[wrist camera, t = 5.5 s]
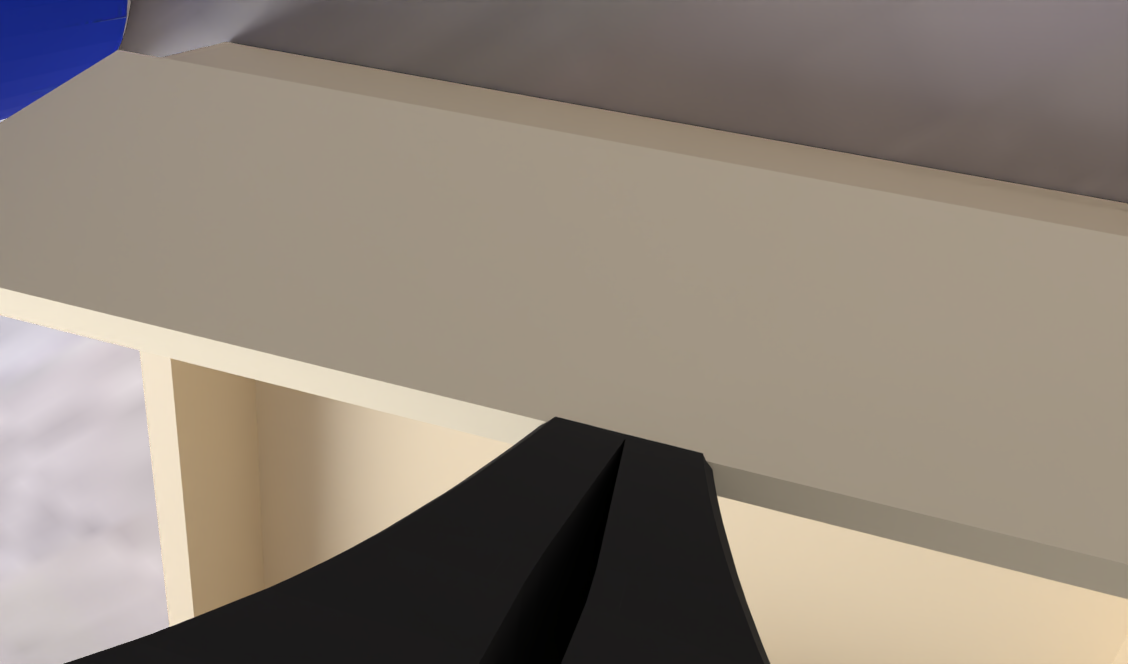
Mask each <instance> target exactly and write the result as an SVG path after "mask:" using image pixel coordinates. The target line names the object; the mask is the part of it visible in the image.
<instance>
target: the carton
mask: <svg viewBox="0 0 1128 664" xmlns="http://www.w3.org/2000/svg"><path fill="white" fill-rule="evenodd" d="M161 58H166V59H171V60H177V61H182V62H188V63H193V64H198V65H204V66H209V67H215V68H220V69H225V70H231V71H236V72H242V73H247V74H252V75H258V76H263V77H269V78H274V79H279V80H285V81H290V82H296V83H301V84H306V85H312V86H317V87H323V88H328V89H333V90H339V91H344V92H350V93H355V94H360V95H366V96H371V97H377V98H382V99H387V100H393V101H398V102H404V103H409V104H414V105H420V106H425V107H430V108H436V109H441V110H447V111H452V112H457V113H463V114H468V115H474V116H479V117H484V118H490V119H495V120H501V121H506V122H511V123H517V124H522V125H528V126H533V127H538V128H544V129H549V130H555V131H560V132H565V133H571V134H576V135H582V136H587V137H592V138H598V139H603V140H609V141H614V142H619V143H625V144H630V145H636V146H641V147H646V148H652V149H657V150H663V151H668V152H673V153H679V154H684V155H690V156H695V157H700V158H706V159H711V160H717V161H722V162H727V163H733V164H738V165H743V166H749V167H754V168H760V169H765V170H770V171H776V172H781V173H787V174H792V175H797V176H803V177H808V178H814V179H819V180H824V181H830V182H835V183H841V184H846V185H851V186H857V187H862V188H868V189H873V190H878V191H884V192H889V193H895V194H900V195H905V196H911V197H916V198H922V199H927V200H932V201H938V202H943V203H949V204H954V205H959V206H965V207H970V208H976V209H981V210H986V211H992V212H997V213H1003V214H1008V215H1013V216H1019V217H1024V218H1030V219H1035V220H1040V221H1046V222H1051V223H1056V224H1062V225H1067V226H1073V227H1078V228H1083V229H1089V230H1094V231H1100V232H1105V233H1110V234H1116V235H1121V236H1127V237H1128V203H1122V202H1117V201H1111V200H1106V199H1100V198H1095V197H1089V196H1083V195H1078V194H1072V193H1067V192H1061V191H1055V190H1050V189H1044V188H1039V187H1033V186H1028V185H1022V184H1016V183H1011V182H1005V181H1000V180H994V179H988V178H983V177H977V176H972V175H966V174H961V173H955V172H949V171H944V170H938V169H933V168H927V167H922V166H916V165H910V164H905V163H899V162H894V161H888V160H882V159H877V158H871V157H866V156H860V155H855V154H849V153H843V152H838V151H832V150H827V149H821V148H816V147H810V146H804V145H799V144H793V143H788V142H782V141H776V140H771V139H765V138H760V137H754V136H749V135H743V134H737V133H732V132H726V131H721V130H715V129H709V128H704V127H698V126H693V125H687V124H682V123H676V122H670V121H665V120H659V119H654V118H648V117H643V116H637V115H631V114H626V113H620V112H615V111H609V110H603V109H598V108H592V107H587V106H581V105H576V104H570V103H564V102H559V101H553V100H548V99H542V98H537V97H531V96H525V95H520V94H514V93H509V92H503V91H497V90H492V89H486V88H481V87H475V86H470V85H464V84H458V83H453V82H447V81H442V80H436V79H430V78H425V77H419V76H414V75H408V74H403V73H397V72H391V71H386V70H380V69H375V68H369V67H364V66H358V65H352V64H347V63H341V62H336V61H330V60H324V59H319V58H313V57H308V56H302V55H297V54H291V53H285V52H280V51H274V50H269V49H263V48H258V47H252V46H246V45H241V44H235V43H230V42H224V43H220V44H216V45H211V46H207V47H203V48H199V49H195V50H190V51H186V52H182V53H178V54H173V55H169V56H165V57H161ZM139 351H140V350H139ZM140 360H141V369H142V378H143V388H144V397H145V406H146V415H147V425H148V434H149V443H150V452H151V461H152V471H153V480H154V489H155V498H156V508H157V517H158V526H159V535H160V545H161V554H162V563H163V572H164V581H165V591H166V600H167V609H168V618H169V627H171V626H173V625H176V624H178V623H181V622H183V621H186V620H189V619H191V618H194V617H196V616H199V615H201V614H204V613H206V612H209V611H211V610H214V609H216V608H219V607H221V606H224V605H226V604H229V603H231V602H234V601H236V600H239V599H241V598H244V597H246V596H249V595H251V594H254V593H257V592H259V591H262V590H264V589H267V588H269V587H271V586H273V585H276V584H278V583H280V582H282V581H285V580H287V579H289V578H291V577H293V576H295V575H297V574H299V573H302V572H304V571H306V570H308V569H310V568H312V567H314V566H316V565H318V564H320V563H322V562H324V561H326V560H329V559H330V558H332V557H334V556H336V555H338V554H340V553H342V552H344V551H346V550H348V549H350V548H352V547H353V546H355V545H357V544H359V543H361V542H363V541H364V540H366V539H368V538H370V537H372V536H374V535H375V534H377V533H379V532H381V531H382V530H384V529H386V528H388V527H389V526H391V525H393V524H394V523H396V522H397V521H399V520H401V519H402V518H404V517H406V516H407V515H409V514H411V513H412V512H414V511H416V510H417V509H419V508H420V507H422V506H424V505H425V504H427V503H429V502H430V501H432V500H434V499H435V498H437V497H439V496H440V495H442V494H444V493H445V492H447V491H448V490H450V489H451V488H453V487H454V486H456V485H457V484H459V483H460V482H462V481H463V480H465V479H466V478H468V477H469V476H470V475H472V474H473V473H475V472H476V471H478V470H479V469H481V468H482V467H483V466H485V465H486V464H488V463H489V462H491V461H492V460H494V459H495V458H496V457H498V456H499V455H501V454H502V453H504V452H505V451H506V450H508V449H509V448H510V447H512V446H513V444H509V443H505V442H501V441H497V440H493V439H489V438H485V437H481V436H477V435H473V434H469V433H465V432H461V431H458V430H454V429H450V428H446V427H442V426H438V425H434V424H430V423H426V422H422V421H418V420H414V419H410V418H406V417H402V416H398V415H394V414H390V413H386V412H382V411H378V410H374V409H370V408H366V407H362V406H358V405H354V404H350V403H346V402H342V401H338V400H334V399H330V398H326V397H322V396H318V395H315V394H311V393H307V392H303V391H299V390H295V389H291V388H287V387H283V386H279V385H275V384H271V383H267V382H263V381H259V380H255V379H251V378H247V377H243V376H239V375H235V374H231V373H227V372H223V371H219V370H215V369H211V368H207V367H203V366H199V365H195V364H191V363H187V362H183V361H179V360H175V359H172V358H168V357H164V356H160V355H156V354H152V353H148V352H144V351H140ZM717 498H718V503H719V508H720V512H721V516H722V521H723V525H724V528H725V532H726V535H727V539H728V543H729V546H730V550H731V553H732V557H733V560H734V564H735V567H736V571H737V574H738V577H739V580H740V583H741V586H742V589H743V592H744V595H745V598H746V601H747V604H748V607H749V609H750V612H751V615H752V617H753V620H754V623H755V625H756V628H757V631H758V633H759V636H760V639H761V642H762V644H763V647H764V649H765V652H766V654H767V657H768V659H769V661H770V664H1128V599H1125V598H1121V597H1117V596H1113V595H1109V594H1105V593H1101V592H1097V591H1093V590H1089V589H1085V588H1081V587H1077V586H1073V585H1069V584H1065V583H1061V582H1057V581H1053V580H1049V579H1045V578H1041V577H1037V576H1033V575H1029V574H1026V573H1022V572H1018V571H1014V570H1010V569H1006V568H1002V567H998V566H994V565H990V564H986V563H982V562H978V561H974V560H970V559H966V558H962V557H958V556H954V555H950V554H946V553H942V552H938V551H934V550H930V549H926V548H922V547H918V546H914V545H910V544H906V543H902V542H898V541H894V540H890V539H886V538H883V537H879V536H875V535H871V534H867V533H863V532H859V531H855V530H851V529H847V528H843V527H839V526H835V525H831V524H827V523H823V522H819V521H815V520H811V519H807V518H803V517H799V516H795V515H791V514H787V513H783V512H779V511H775V510H771V509H767V508H763V507H759V506H755V505H751V504H747V503H743V502H740V501H736V500H732V499H728V498H724V497H720V496H717Z"/></svg>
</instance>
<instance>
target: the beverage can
mask: <svg viewBox="0 0 1128 664" xmlns="http://www.w3.org/2000/svg"><path fill="white" fill-rule="evenodd" d="M130 4H131V0H0V120H2V119H6V118H9V117H10V116H12V115H13V114H15V113H17V112H18V111H20V110H22V109H23V108H25V107H26V106H28V105H30V104H31V103H33V102H35V101H36V100H38V99H39V98H41V97H43V96H44V95H46V94H47V93H49V92H51V91H52V90H54V89H56V88H57V87H59V86H60V85H62V84H64V83H65V82H67V81H68V80H70V79H72V78H73V77H75V76H77V75H78V74H80V73H81V72H83V71H85V70H86V69H88V68H90V67H91V66H93V65H94V64H96V63H98V62H99V61H101V60H102V59H104V58H106V57H107V56H109V55H111V54H112V53H114V52H115V51H117V50H118V49H119V47H120V44H121V41H122V39H123V36H124V33H125V29H126V25H127V20H128V15H129V10H130Z"/></svg>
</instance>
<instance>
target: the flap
mask: <svg viewBox="0 0 1128 664" xmlns="http://www.w3.org/2000/svg"><path fill="white" fill-rule="evenodd" d="M0 315H1V316H5V317H9V318H13V319H17V320H21V321H25V322H29V323H33V324H36V325H40V326H44V327H48V328H52V329H56V330H60V331H64V332H68V333H72V334H76V335H80V336H84V337H88V338H92V339H96V340H100V341H104V342H108V343H112V344H116V345H120V346H124V347H128V348H132V349H136V350H140V351H144V352H148V353H152V354H156V355H160V356H164V357H168V358H172V359H175V360H179V361H183V362H187V363H191V364H195V365H199V366H203V367H207V368H211V369H215V370H219V371H223V372H227V373H231V374H235V375H239V376H243V377H247V378H251V379H255V380H259V381H263V382H267V383H271V384H275V385H279V386H283V387H287V388H291V389H295V390H299V391H303V392H307V393H311V394H315V395H318V396H322V397H326V398H330V399H334V400H338V401H342V402H346V403H350V404H354V405H358V406H362V407H366V408H370V409H374V410H378V411H382V412H386V413H390V414H394V415H398V416H402V417H406V418H410V419H414V420H418V421H422V422H426V423H430V424H434V425H438V426H442V427H446V428H450V429H454V430H458V431H461V432H465V433H469V434H473V435H477V436H481V437H485V438H489V439H493V440H497V441H501V442H505V443H509V444H513V445H515V444H516V443H517V442H519V441H520V440H521V439H523V438H524V437H525V436H527V435H528V434H529V433H531V432H532V431H533V430H535V429H536V428H537V427H538V426H540V425H542V424H544V423H546V422H548V421H549V420H551V419H552V418H554V417H555V416H556V417H560V418H564V419H568V420H572V421H576V422H580V423H584V424H588V425H592V426H595V427H599V428H603V429H607V430H611V431H615V432H619V433H623V434H627V435H631V436H635V437H639V438H643V439H647V440H652V441H656V442H660V443H664V444H668V445H672V446H676V447H680V448H684V449H688V450H692V451H696V452H700V453H703V455H704V457H705V460H706V461H707V463H708V464H709V465H710V467H711V468H712V469H713V476H714V482H715V487H716V493H717V496H720V497H724V498H728V499H732V500H736V501H740V502H743V503H747V504H751V505H755V506H759V507H763V508H767V509H771V510H775V511H779V512H783V513H787V514H791V515H795V516H799V517H803V518H807V519H811V520H815V521H819V522H823V523H827V524H831V525H835V526H839V527H843V528H847V529H851V530H855V531H859V532H863V533H867V534H871V535H875V536H879V537H883V538H886V539H890V540H894V541H898V542H902V543H906V544H910V545H914V546H918V547H922V548H926V549H930V550H934V551H938V552H942V553H946V554H950V555H954V556H958V557H962V558H966V559H970V560H974V561H978V562H982V563H986V564H990V565H994V566H998V567H1002V568H1006V569H1010V570H1014V571H1018V572H1022V573H1026V574H1029V575H1033V576H1037V577H1041V578H1045V579H1049V580H1053V581H1057V582H1061V583H1065V584H1069V585H1073V586H1077V587H1081V588H1085V589H1089V590H1093V591H1097V592H1101V593H1105V594H1109V595H1113V596H1117V597H1121V598H1125V599H1128V237H1127V236H1121V235H1116V234H1110V233H1105V232H1100V231H1094V230H1089V229H1083V228H1078V227H1073V226H1067V225H1062V224H1056V223H1051V222H1046V221H1040V220H1035V219H1030V218H1024V217H1019V216H1013V215H1008V214H1003V213H997V212H992V211H986V210H981V209H976V208H970V207H965V206H959V205H954V204H949V203H943V202H938V201H932V200H927V199H922V198H916V197H911V196H905V195H900V194H895V193H889V192H884V191H878V190H873V189H868V188H862V187H857V186H851V185H846V184H841V183H835V182H830V181H824V180H819V179H814V178H808V177H803V176H797V175H792V174H787V173H781V172H776V171H770V170H765V169H760V168H754V167H749V166H743V165H738V164H733V163H727V162H722V161H717V160H711V159H706V158H700V157H695V156H690V155H684V154H679V153H673V152H668V151H663V150H657V149H652V148H646V147H641V146H636V145H630V144H625V143H619V142H614V141H609V140H603V139H598V138H592V137H587V136H582V135H576V134H571V133H565V132H560V131H555V130H549V129H544V128H538V127H533V126H528V125H522V124H517V123H511V122H506V121H501V120H495V119H490V118H484V117H479V116H474V115H468V114H463V113H457V112H452V111H447V110H441V109H436V108H430V107H425V106H420V105H414V104H409V103H404V102H398V101H393V100H387V99H382V98H377V97H371V96H366V95H360V94H355V93H350V92H344V91H339V90H333V89H328V88H323V87H317V86H312V85H306V84H301V83H296V82H290V81H285V80H279V79H274V78H269V77H263V76H258V75H252V74H247V73H242V72H236V71H231V70H225V69H220V68H215V67H209V66H204V65H198V64H193V63H188V62H182V61H177V60H171V59H166V58H161V57H155V56H150V55H144V54H139V53H134V52H128V51H123V50H117V51H115V52H114V53H112V54H111V55H109V56H107V57H106V58H104V59H102V60H101V61H99V62H98V63H96V64H94V65H93V66H91V67H90V68H88V69H86V70H85V71H83V72H81V73H80V74H78V75H77V76H75V77H73V78H72V79H70V80H68V81H67V82H65V83H64V84H62V85H60V86H59V87H57V88H56V89H54V90H52V91H51V92H49V93H47V94H46V95H44V96H43V97H41V98H39V99H38V100H36V101H35V102H33V103H31V104H30V105H28V106H26V107H25V108H23V109H22V110H20V111H18V112H17V113H15V114H13V115H12V116H10V117H9V118H7V119H5V120H4V121H2V122H1V123H0Z"/></svg>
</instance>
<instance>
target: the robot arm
mask: <svg viewBox="0 0 1128 664" xmlns="http://www.w3.org/2000/svg"><path fill="white" fill-rule="evenodd" d="M64 664H770V661H769V659H768V657H767V654H766V652H765V649H764V647H763V644H762V642H761V639H760V636H759V633H758V631H757V628H756V625H755V623H754V620H753V617H752V615H751V612H750V609H749V607H748V604H747V601H746V598H745V595H744V592H743V589H742V586H741V583H740V580H739V577H738V574H737V571H736V567H735V564H734V560H733V557H732V553H731V550H730V546H729V543H728V539H727V535H726V532H725V528H724V525H723V521H722V516H721V512H720V508H719V503H718V498H717V493H716V487H715V482H714V476H713V469H712V468H711V467H710V465H709V464H708V463H707V461H706V460H705V457H704V455H703V453H700V452H696V451H692V450H688V449H684V448H680V447H676V446H672V445H668V444H664V443H660V442H656V441H652V440H647V439H643V438H639V437H635V436H631V435H627V434H623V433H619V432H615V431H611V430H607V429H603V428H599V427H595V426H592V425H588V424H584V423H580V422H576V421H572V420H568V419H564V418H560V417H556V416H555V417H554V418H552V419H551V420H549V421H548V422H546V423H544V424H542V425H540V426H538V427H537V428H536V429H535V430H533V431H532V432H531V433H529V434H528V435H527V436H525V437H524V438H523V439H521V440H520V441H519V442H517V443H516V444H515V445H513V446H512V447H510V448H509V449H508V450H506V451H505V452H504V453H502V454H501V455H499V456H498V457H496V458H495V459H494V460H492V461H491V462H489V463H488V464H486V465H485V466H483V467H482V468H481V469H479V470H478V471H476V472H475V473H473V474H472V475H470V476H469V477H468V478H466V479H465V480H463V481H462V482H460V483H459V484H457V485H456V486H454V487H453V488H451V489H450V490H448V491H447V492H445V493H444V494H442V495H440V496H439V497H437V498H435V499H434V500H432V501H430V502H429V503H427V504H425V505H424V506H422V507H420V508H419V509H417V510H416V511H414V512H412V513H411V514H409V515H407V516H406V517H404V518H402V519H401V520H399V521H397V522H396V523H394V524H393V525H391V526H389V527H388V528H386V529H384V530H382V531H381V532H379V533H377V534H375V535H374V536H372V537H370V538H368V539H366V540H364V541H363V542H361V543H359V544H357V545H355V546H353V547H352V548H350V549H348V550H346V551H344V552H342V553H340V554H338V555H336V556H334V557H332V558H330V559H329V560H326V561H324V562H322V563H320V564H318V565H316V566H314V567H312V568H310V569H308V570H306V571H304V572H302V573H299V574H297V575H295V576H293V577H291V578H289V579H287V580H285V581H282V582H280V583H278V584H276V585H273V586H271V587H269V588H267V589H264V590H262V591H259V592H257V593H254V594H251V595H249V596H246V597H244V598H241V599H239V600H236V601H234V602H231V603H229V604H226V605H224V606H221V607H219V608H216V609H214V610H211V611H209V612H206V613H204V614H201V615H199V616H196V617H194V618H191V619H189V620H186V621H183V622H181V623H178V624H176V625H173V626H171V627H168V628H166V629H163V630H161V631H158V632H156V633H153V634H150V635H147V636H145V637H142V638H139V639H136V640H133V641H130V642H127V643H124V644H121V645H118V646H116V647H113V648H110V649H107V650H104V651H101V652H98V653H95V654H92V655H89V656H86V657H83V658H80V659H77V660H74V661H71V662H68V663H64Z"/></svg>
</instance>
